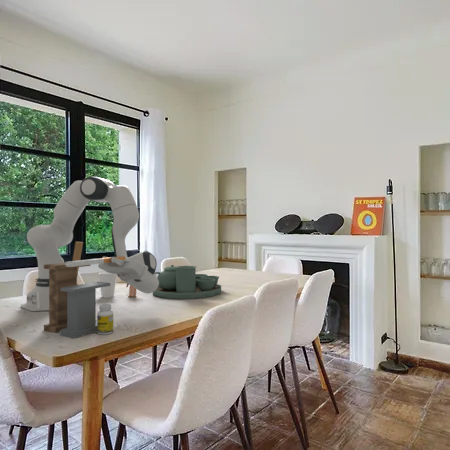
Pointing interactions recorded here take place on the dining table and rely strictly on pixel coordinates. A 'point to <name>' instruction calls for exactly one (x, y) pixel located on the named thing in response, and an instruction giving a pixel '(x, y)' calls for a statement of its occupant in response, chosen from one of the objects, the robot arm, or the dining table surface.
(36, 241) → the robot arm
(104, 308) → the supplement bottle
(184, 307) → the dining table surface
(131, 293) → the grandmother figurine
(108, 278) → the foam cup
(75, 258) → the hammer
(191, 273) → the tea set
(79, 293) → the rack
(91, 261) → the wooden handled knife
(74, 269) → the tall stand
